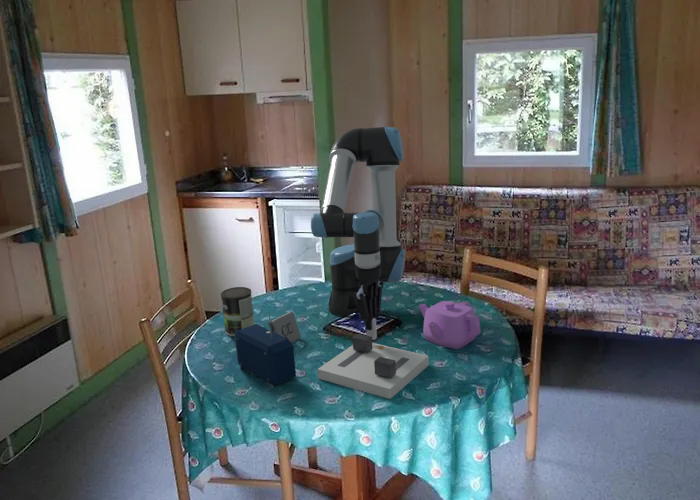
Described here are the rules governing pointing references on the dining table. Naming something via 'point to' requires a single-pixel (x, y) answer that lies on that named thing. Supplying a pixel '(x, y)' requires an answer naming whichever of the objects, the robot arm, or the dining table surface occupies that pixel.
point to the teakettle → (450, 324)
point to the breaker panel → (373, 369)
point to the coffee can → (237, 309)
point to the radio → (265, 354)
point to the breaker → (385, 367)
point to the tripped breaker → (362, 343)
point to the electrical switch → (286, 326)
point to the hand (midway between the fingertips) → (371, 338)
